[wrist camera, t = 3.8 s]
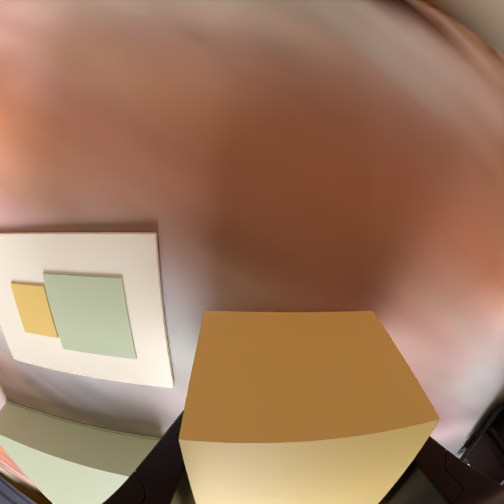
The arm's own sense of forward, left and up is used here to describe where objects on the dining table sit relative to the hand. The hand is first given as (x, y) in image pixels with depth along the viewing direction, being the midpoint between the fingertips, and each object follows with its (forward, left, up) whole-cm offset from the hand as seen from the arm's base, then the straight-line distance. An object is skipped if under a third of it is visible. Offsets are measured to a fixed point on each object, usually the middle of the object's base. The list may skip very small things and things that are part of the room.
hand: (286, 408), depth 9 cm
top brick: (0, 0, -1) cm, 1 cm away
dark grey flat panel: (+36, +26, -3) cm, 45 cm away
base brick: (+10, +10, -2) cm, 14 cm away
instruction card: (+8, -2, -2) cm, 8 cm away
